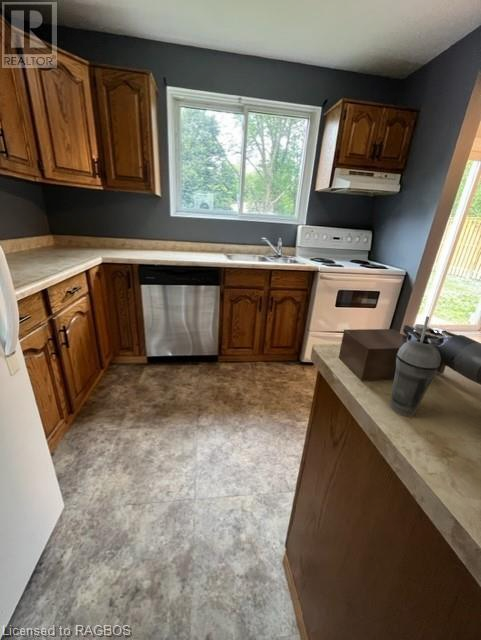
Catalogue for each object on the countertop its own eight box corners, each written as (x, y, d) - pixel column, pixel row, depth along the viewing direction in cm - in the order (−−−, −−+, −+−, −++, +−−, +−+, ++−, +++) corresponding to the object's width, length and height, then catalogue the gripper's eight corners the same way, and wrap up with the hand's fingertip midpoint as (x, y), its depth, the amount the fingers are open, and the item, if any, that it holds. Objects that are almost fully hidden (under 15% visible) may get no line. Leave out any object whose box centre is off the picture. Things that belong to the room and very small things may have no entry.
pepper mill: (414, 352, 74) (423, 323, 71) (426, 359, 71) (435, 329, 68) (401, 352, 74) (409, 323, 71) (412, 359, 70) (421, 329, 67)
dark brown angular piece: (426, 353, 79) (433, 332, 77) (457, 372, 70) (466, 348, 67) (370, 355, 77) (376, 333, 74) (395, 374, 67) (402, 350, 65)
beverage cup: (387, 417, 53) (415, 322, 46) (379, 395, 60) (402, 310, 53) (428, 424, 52) (463, 328, 45) (415, 401, 59) (443, 314, 52)
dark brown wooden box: (385, 356, 78) (393, 329, 75) (415, 378, 68) (425, 347, 65) (338, 357, 76) (344, 329, 73) (361, 380, 65) (368, 348, 62)
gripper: (507, 342, 56) (440, 315, 72) (447, 343, 54) (391, 315, 70) (494, 373, 59) (431, 340, 75) (436, 376, 57) (384, 341, 73)
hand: (412, 328), depth 72 cm, fingers open, 4 cm apart
